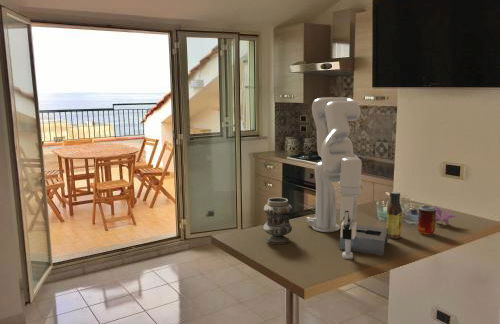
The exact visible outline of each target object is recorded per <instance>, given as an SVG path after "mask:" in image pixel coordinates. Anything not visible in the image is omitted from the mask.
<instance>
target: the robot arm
mask: <svg viewBox="0 0 500 324" xmlns="http://www.w3.org/2000/svg"><path fill="white" fill-rule="evenodd" d="M311 112H312V117H313V121H314V124H315V128H316V147H317V149H316V151H317V154H318V156H319V157H320V158H321V161H319V162H317V163H316V164H315V166H314V176H315V177H314V178H315V216H314V217H309V216H307V217H306V222H307V223H312V224H311V228H312V229H313V230H314V231H317V232H322V233H334V232H337V231H339V230H340V225H339V224H337V209H338V208H337V207H338V191H337V188H336V187H335V186H334V185H333V183H339V194H340V195H341V198H340V209H339V221H340V222H343V221H344V223H343V239H348V240H351V235H352V229H351V222H355V219H356V217H357V215H358V214H357V213H358V196H361V190H362V189H361V185H362V165H363V164H362V159H361V158H359V157H358V155H356V154H355V153H354V145H353V142H352V140H351V138H350V137H349V136H350V132H351V131H350V124H349V122H350V121H351V122H353V121H358V120H359V118H360V116H361V107H360V105H359V103H358V102H357V101H356V100H355V99H352V98H351V97H333V96H332V97H331V96H330V97H318V98H316V99H314V100H313V101H312V105H311ZM348 223H349V224H348Z"/></svg>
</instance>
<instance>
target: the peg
mask: <svg viewBox="0 0 500 324" xmlns="http://www.w3.org/2000/svg"><path fill="white" fill-rule="evenodd" d="M343 223H344V220H342V221H341V224H340V234H341V237H342V238H343ZM348 224H349V223H348ZM357 225H358V224H357V221H354V222H351V229H352V235H351V239H354V238H355V236H356V226H357ZM350 250H351V240H348V239H346V241H345V250H344V251H343V252H342V258H343V259H344V260H352V259H353V258H354V253H353V251H350Z"/></svg>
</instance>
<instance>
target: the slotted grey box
mask: <svg viewBox="0 0 500 324" xmlns="http://www.w3.org/2000/svg"><path fill="white" fill-rule="evenodd" d="M345 241H346V239H343V238H342V237H341V233H340V235H339V250H341V251H345ZM388 241H389V238H388V229H387V228H386V227H385V228H384V227H377V226H368V225H361V224H360V225H359V224H357V226H356V236H355V238H354V239H351V250H350V252H356V253H362V254H369V255H370V254H371V255H375V256H376V255H377V256H384V255H385V244H388Z"/></svg>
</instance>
